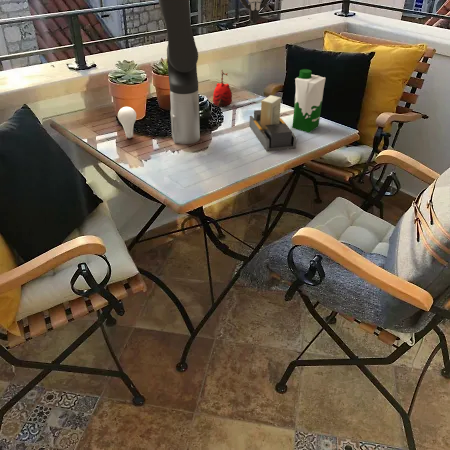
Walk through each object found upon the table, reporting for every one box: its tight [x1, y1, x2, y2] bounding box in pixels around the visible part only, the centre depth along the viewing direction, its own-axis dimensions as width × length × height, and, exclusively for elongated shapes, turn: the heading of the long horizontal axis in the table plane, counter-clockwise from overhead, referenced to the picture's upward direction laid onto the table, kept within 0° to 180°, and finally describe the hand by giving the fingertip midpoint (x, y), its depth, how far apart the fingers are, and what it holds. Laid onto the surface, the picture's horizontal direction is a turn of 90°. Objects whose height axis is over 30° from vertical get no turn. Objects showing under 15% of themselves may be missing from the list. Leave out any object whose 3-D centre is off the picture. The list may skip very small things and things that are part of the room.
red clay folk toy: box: [212, 69, 233, 108], centre depth 185 cm, size 8×7×15 cm
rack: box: [248, 109, 297, 152], centre depth 163 cm, size 10×21×6 cm, turn 13°
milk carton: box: [291, 68, 326, 133], centre depth 165 cm, size 9×9×20 cm
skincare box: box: [260, 94, 282, 132], centre depth 161 cm, size 6×4×12 cm
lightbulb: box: [117, 106, 137, 139], centre depth 160 cm, size 6×6×11 cm
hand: (253, 22), depth 154 cm, fingers closed
